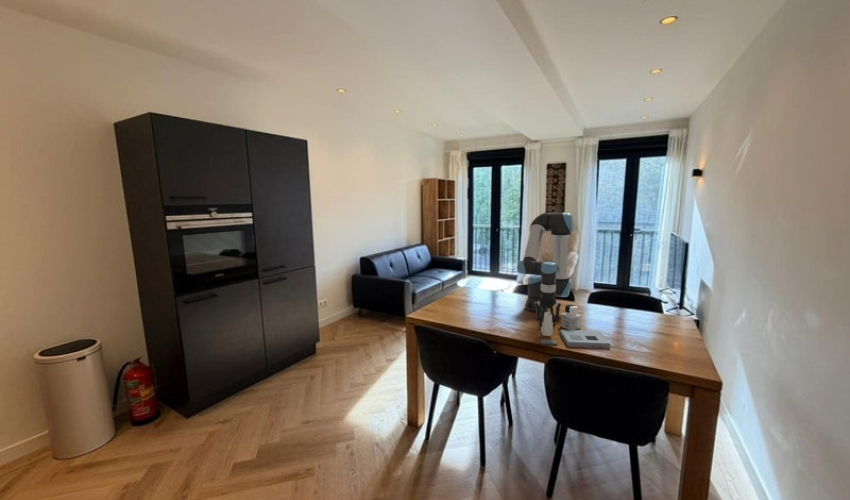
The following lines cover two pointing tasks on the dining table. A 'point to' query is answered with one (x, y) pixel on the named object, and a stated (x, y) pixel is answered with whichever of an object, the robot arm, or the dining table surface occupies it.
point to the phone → (548, 342)
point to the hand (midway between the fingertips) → (546, 332)
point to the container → (571, 318)
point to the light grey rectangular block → (547, 323)
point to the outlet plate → (584, 338)
